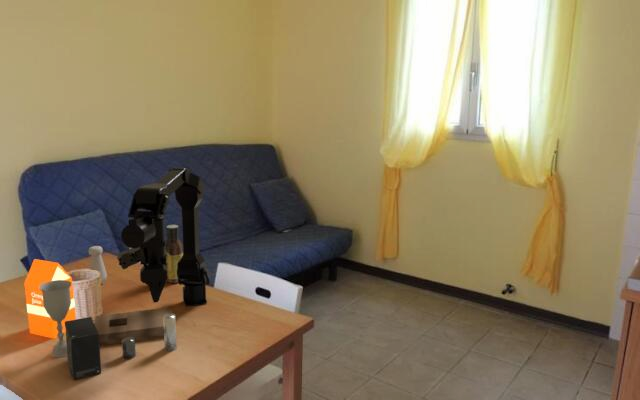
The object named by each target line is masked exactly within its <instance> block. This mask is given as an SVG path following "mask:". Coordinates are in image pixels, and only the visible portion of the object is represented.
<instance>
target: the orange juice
mask: <svg viewBox="0 0 640 400" xmlns="http://www.w3.org/2000/svg"><path fill="white" fill-rule="evenodd" d="M56 280H66V281H70V282H71V286H70V297H71V304H70V308H69V311H68V313H67V315H66V318H65V319H64V320H62V322H61V323H62V326H63V329H62V332H63V333H64V334H66V330H65V321H70V320H76V319H77V318H76V305H75V304H76V303H75V296H74V285H73V277H71V276H70V275H69V273H68V272H67V271H66V270H65V269H64V268H63V266H61V265H60V264H59V262H56V261H55V262H54V261H48V260H43V259H38V258H37V259H36V258H34V259H33V261H32V264H31V266H30V269H29V271H28V272H27V275H26V277H25V280H24V282H23V284H24V285H23V286H24V293H25V302H26V311H27V319H28V327H29V334H31V335H32V334H33V335H37V336H40V337H46V338H50V339H54V340H55V339H56V338H58V336H57V334H58V330H57V329H56V328H57V321H53V320H52V318H51V317H50V316H49V314H48V313H47V311H46V310H45V308H44V304H43V294H42V291H41V290H40V288H39V286H40V285H42V284H44V283H46V282H50V281H56Z"/></svg>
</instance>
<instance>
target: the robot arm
mask: <svg viewBox="0 0 640 400" xmlns="http://www.w3.org/2000/svg"><path fill="white" fill-rule="evenodd" d="M205 188H206V187H205V182H203V180H202V178H201V177H200V176H199V175H197V174H194V173H193V172H191V170H190V169H188V168H185V167H172V168H171V167H170V168H169V169H168V172H167V173H165V174H164V175H163V176H162V177H161V178H159V179H158V180H157V181H156V182H154V183H151V184H144V185H141V186H139V187H137V189H136V190H135V192H133V196H132V200H131V203H130V207H129V209H128V215H127V217H128V218H129V219H128V224H126V226H124V227H123V228H122V230H121V234H120V237H121V241H122V243H123V244H124V245H125V246H126V247H128V249H125V250H123V251H120V252H119V253H117V257H116V259H117V260H118V265H119V266H120V267H121V269H122V270H127V269H128V268H129V267H132V266H133V265H136V264H138V263H140V265H142V267H141V268H140V273H139V277H140V278H139V279H140V282H142V284H145V285H147V286H148V289H149V292H150V296H151V299H152V303H158V302H159V301H160V297H161V296H162V293H163V290H164V289H165V285H166V282H168V281H167V279H168V273H167V267H166V260H167V256H166V250H165V244H166V236H165V235H166V234H165V216H166V215H167V212H166V211H167V207H168V205H169V204H170V198H169V197H170V196H171V195H173V193H174V196H175V197H174V198H175V201H176V202H177V203H178V205H179V207H180V208H181V230H182V231H181V232H182V246H183V256H182V258H181V259H180V261H179V262H178V264H177V267H178V268H177V277H178V281H179V282H178V285H180V286H181V285H184V286H182V289H181V290H182V301H183V303H184V305H185V306H186V307H190V306H191V307H192V306H199V305H206V304H208V301H207V289H206V286H207V285H210V284H211V273H210V271H209V270H208V268H207V267H206V260H205V258H204V257H203V255H202V254H201V252H200V240H199V239H200V235H199V205H200V203H201V202H202V200H203V198H204V193H205V190H206V189H205Z"/></svg>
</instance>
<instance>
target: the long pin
mask: <svg viewBox="0 0 640 400" xmlns="http://www.w3.org/2000/svg"><path fill="white" fill-rule="evenodd" d="M176 321H177V320H176V314H175V313H172V312H171V313H169V314H165V315H164V316H163V326H164V337H163V339H164V340H163V341H164V351H165V352H173V351H176V350H177V348H178V346H177V345H178V344H177V343H178V342H177V328H176V327H177V323H176Z"/></svg>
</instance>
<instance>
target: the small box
mask: <svg viewBox="0 0 640 400" xmlns="http://www.w3.org/2000/svg"><path fill="white" fill-rule="evenodd" d="M94 323H95V321H94V320H93V318H92V316H89V317H88V316H87V317H82V318H78V319H77V318H76V320H70V321H65V330H66V333H65V341H66V342H67V356H66V357H67V359H66V360H67V363H68V367H69V372H70V375H71V377H72V378H71V379H72V380H73V381H76V380H81V379H84V378H87V377H88V378H89V377H92V376H95V375H99V374H102V366H101V365H102V362H101V348H100V347H101V345H99V333H98V331H97V329H96V326H95V324H94Z"/></svg>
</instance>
